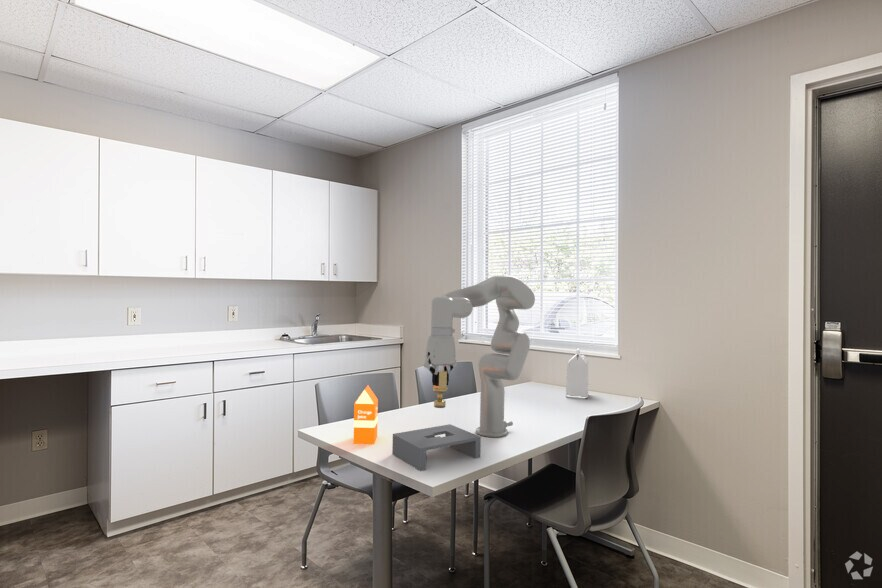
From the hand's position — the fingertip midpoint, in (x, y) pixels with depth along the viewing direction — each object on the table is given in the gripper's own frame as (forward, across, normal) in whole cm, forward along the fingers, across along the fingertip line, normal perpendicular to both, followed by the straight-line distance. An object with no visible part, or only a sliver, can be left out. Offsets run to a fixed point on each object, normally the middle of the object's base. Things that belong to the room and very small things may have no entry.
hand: (440, 384), depth 168 cm
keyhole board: (+23, +3, +3) cm, 24 cm away
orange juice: (+24, +17, -24) cm, 38 cm away
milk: (+23, -116, -42) cm, 126 cm away
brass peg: (+8, 0, 0) cm, 8 cm away
